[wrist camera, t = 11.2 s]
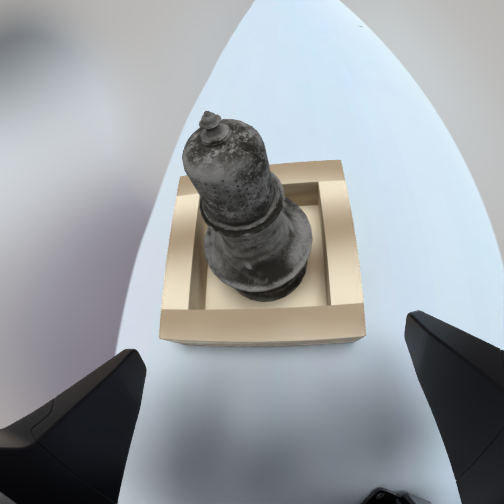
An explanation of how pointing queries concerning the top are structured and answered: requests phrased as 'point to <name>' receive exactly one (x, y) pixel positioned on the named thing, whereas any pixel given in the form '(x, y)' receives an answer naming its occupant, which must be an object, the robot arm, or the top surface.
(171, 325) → the shaker caddy
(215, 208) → the weathered stone finial
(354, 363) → the top surface
